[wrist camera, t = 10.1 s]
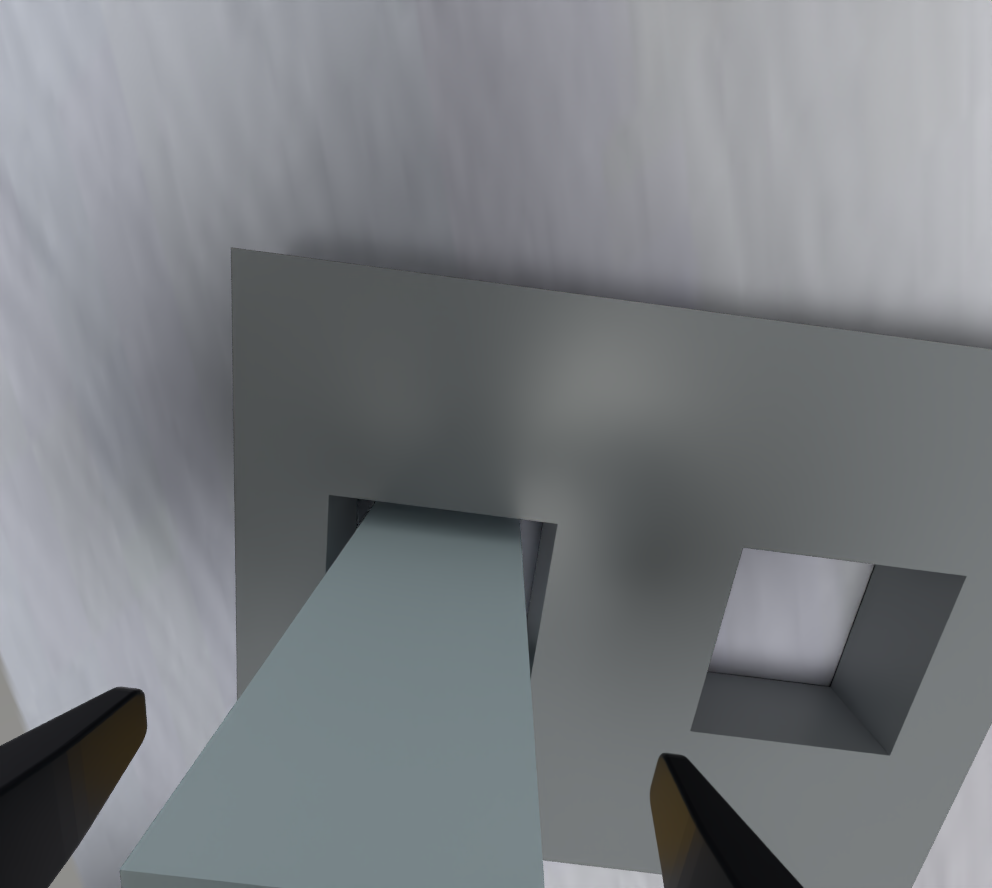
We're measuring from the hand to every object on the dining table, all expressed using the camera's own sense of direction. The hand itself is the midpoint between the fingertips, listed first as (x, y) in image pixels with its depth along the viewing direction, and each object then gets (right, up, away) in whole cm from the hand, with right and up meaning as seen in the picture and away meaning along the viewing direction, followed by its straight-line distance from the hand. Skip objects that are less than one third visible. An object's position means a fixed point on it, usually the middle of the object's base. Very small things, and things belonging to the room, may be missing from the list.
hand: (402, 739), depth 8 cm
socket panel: (+5, +1, +6) cm, 8 cm away
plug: (0, +2, +6) cm, 7 cm away
